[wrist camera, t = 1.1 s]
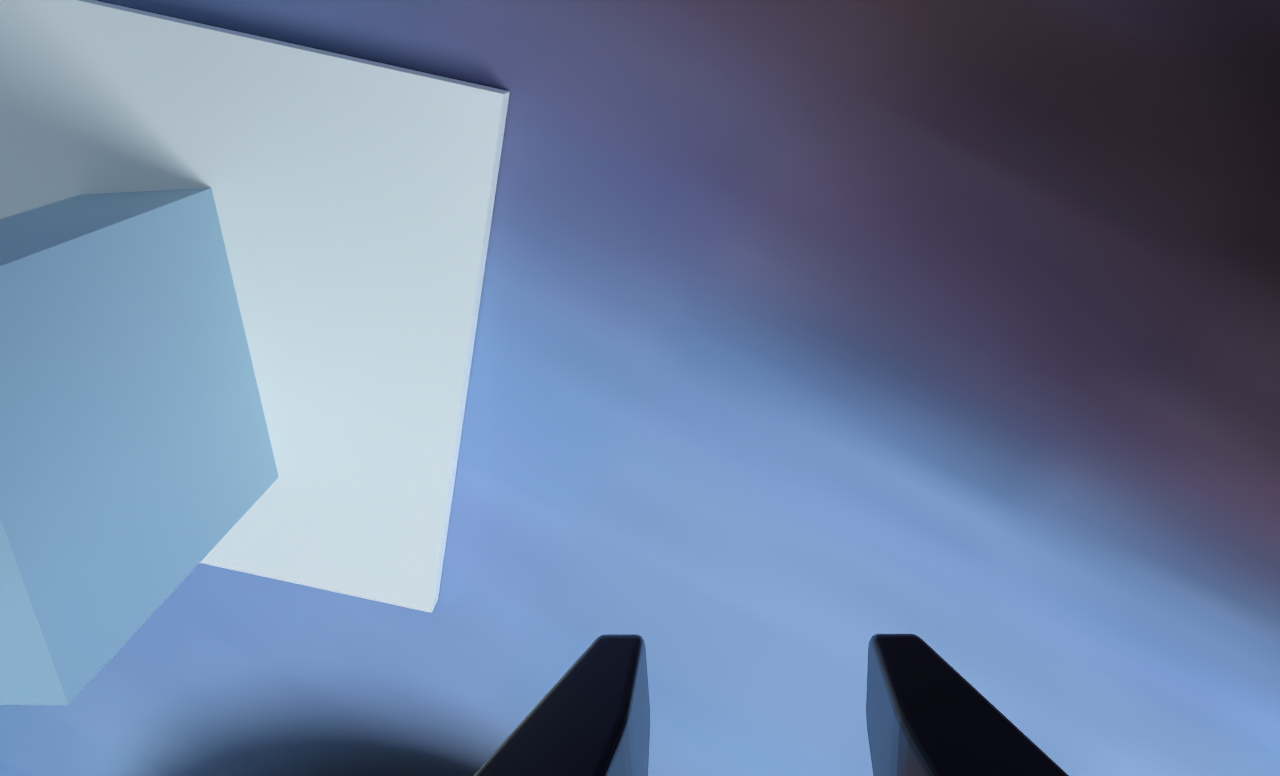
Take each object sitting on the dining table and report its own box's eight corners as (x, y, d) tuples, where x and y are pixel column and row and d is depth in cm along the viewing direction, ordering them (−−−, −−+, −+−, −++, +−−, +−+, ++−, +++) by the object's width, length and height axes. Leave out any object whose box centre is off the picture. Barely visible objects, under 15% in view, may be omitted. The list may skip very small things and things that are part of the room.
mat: (510, 91, 19) (503, 93, 19) (438, 599, 25) (431, 612, 24) (-129, -49, 19) (-154, -51, 19) (-69, 489, 24) (-87, 500, 24)
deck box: (211, 188, 20) (-81, 296, 13) (278, 477, 23) (68, 704, 15) (80, 194, 20) (-280, 304, 13) (161, 479, 23) (-101, 704, 16)
